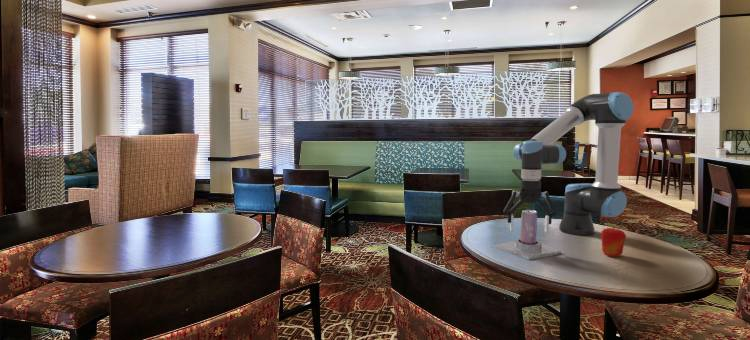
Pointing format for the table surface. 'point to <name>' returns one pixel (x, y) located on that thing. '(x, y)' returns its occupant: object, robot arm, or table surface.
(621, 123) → the robot arm
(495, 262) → the table surface
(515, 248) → the duct flange
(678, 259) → the table surface
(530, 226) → the beverage can
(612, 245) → the red bell pepper
